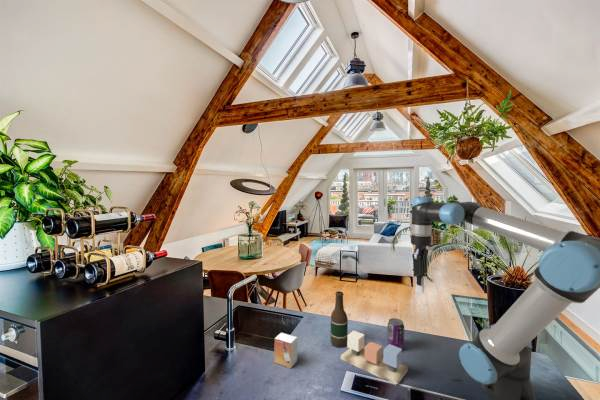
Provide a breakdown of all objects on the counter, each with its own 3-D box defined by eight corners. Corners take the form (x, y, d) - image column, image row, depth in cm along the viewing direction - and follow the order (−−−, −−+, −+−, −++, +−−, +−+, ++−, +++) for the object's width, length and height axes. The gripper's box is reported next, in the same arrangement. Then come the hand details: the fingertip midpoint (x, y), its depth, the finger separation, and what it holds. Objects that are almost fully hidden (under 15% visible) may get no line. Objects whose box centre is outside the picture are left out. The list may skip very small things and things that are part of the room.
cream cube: (364, 346, 120) (364, 334, 120) (358, 351, 116) (358, 339, 116) (353, 342, 124) (353, 330, 123) (347, 347, 120) (347, 335, 120)
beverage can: (405, 352, 123) (405, 326, 123) (388, 350, 125) (388, 324, 124) (402, 344, 130) (403, 318, 130) (386, 342, 132) (387, 317, 131)
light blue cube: (401, 361, 110) (402, 348, 110) (396, 368, 106) (396, 355, 106) (388, 356, 113) (389, 343, 113) (383, 362, 109) (383, 349, 109)
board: (407, 370, 112) (408, 357, 111) (396, 385, 103) (397, 371, 103) (353, 347, 127) (354, 335, 127) (340, 359, 119) (340, 346, 118)
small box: (273, 363, 116) (273, 338, 115) (281, 355, 121) (281, 331, 120) (290, 369, 112) (291, 343, 112) (297, 361, 117) (297, 336, 117)
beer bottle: (328, 346, 128) (329, 294, 127) (332, 337, 135) (332, 288, 134) (346, 349, 126) (346, 296, 124) (348, 340, 133) (349, 290, 132)
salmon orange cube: (382, 358, 115) (382, 346, 115) (376, 364, 111) (376, 351, 111) (370, 353, 119) (370, 341, 118) (364, 359, 115) (364, 346, 114)
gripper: (417, 231, 122) (415, 285, 123) (405, 235, 112) (404, 294, 113) (435, 233, 117) (433, 289, 118) (425, 238, 107) (424, 299, 108)
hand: (419, 291), depth 116 cm, fingers closed
